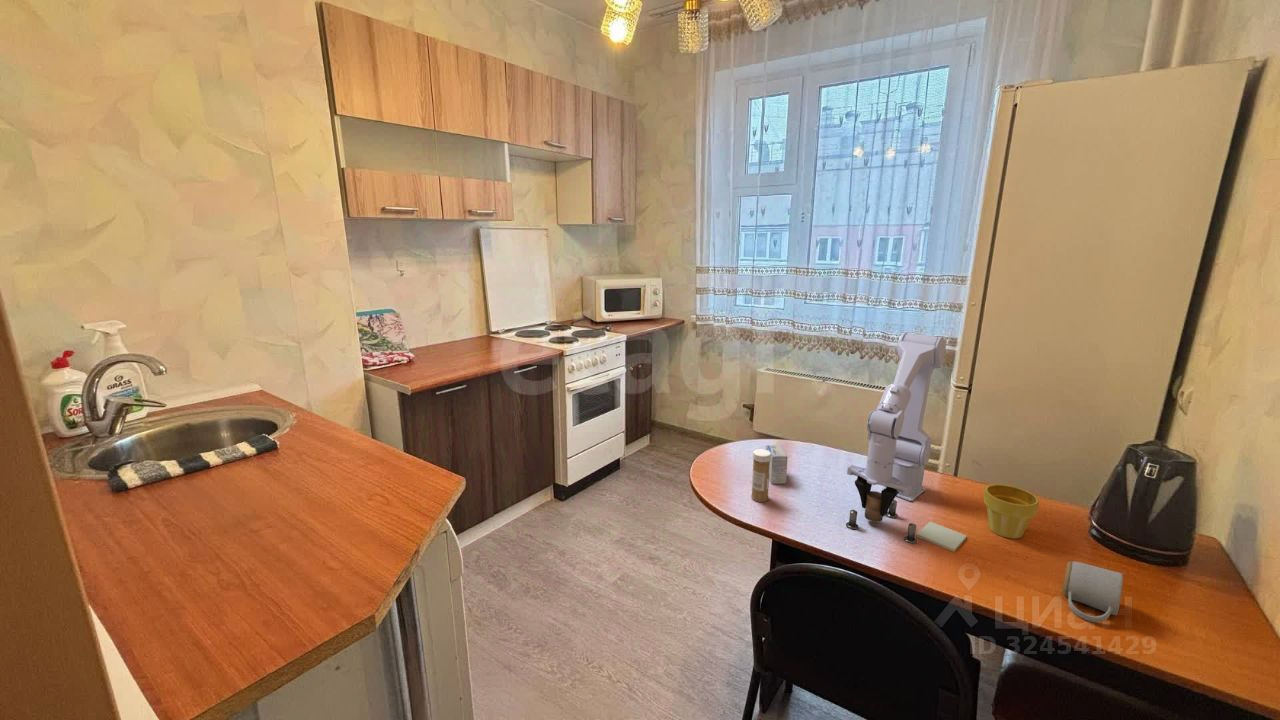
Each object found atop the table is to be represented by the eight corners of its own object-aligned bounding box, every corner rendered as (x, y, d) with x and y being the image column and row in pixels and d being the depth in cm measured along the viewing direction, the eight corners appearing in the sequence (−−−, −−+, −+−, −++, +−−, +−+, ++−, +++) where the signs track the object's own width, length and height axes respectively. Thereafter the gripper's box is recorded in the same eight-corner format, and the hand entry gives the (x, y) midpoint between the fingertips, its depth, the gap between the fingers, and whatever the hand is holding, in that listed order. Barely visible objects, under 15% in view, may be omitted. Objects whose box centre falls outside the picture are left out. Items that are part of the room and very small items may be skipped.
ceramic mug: (1062, 582, 104) (1069, 550, 101) (1116, 601, 98) (1125, 567, 96) (1058, 611, 96) (1066, 577, 94) (1116, 634, 91) (1126, 597, 89)
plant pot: (968, 520, 126) (974, 484, 123) (1007, 517, 127) (1014, 482, 124) (1001, 545, 116) (1008, 506, 113) (1043, 542, 117) (1051, 504, 114)
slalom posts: (872, 504, 133) (873, 490, 132) (931, 528, 122) (934, 513, 121) (843, 526, 124) (845, 511, 123) (905, 553, 113) (908, 537, 112)
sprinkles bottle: (771, 499, 136) (774, 453, 133) (759, 504, 134) (762, 457, 130) (759, 492, 140) (761, 447, 136) (747, 496, 137) (749, 451, 134)
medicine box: (786, 484, 144) (788, 456, 142) (770, 484, 144) (772, 456, 142) (779, 471, 152) (781, 444, 149) (764, 471, 152) (765, 444, 149)
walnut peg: (869, 511, 127) (871, 489, 126) (885, 517, 124) (888, 495, 123) (861, 517, 125) (863, 495, 123) (877, 524, 122) (880, 501, 120)
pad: (929, 523, 124) (930, 521, 124) (966, 537, 119) (966, 535, 118) (916, 536, 119) (916, 534, 119) (954, 551, 113) (954, 549, 113)
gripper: (843, 454, 123) (838, 504, 127) (905, 475, 113) (897, 529, 116) (857, 446, 128) (852, 494, 131) (918, 465, 117) (910, 518, 121)
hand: (874, 510), depth 124 cm, fingers closed on walnut peg, 4 cm apart
